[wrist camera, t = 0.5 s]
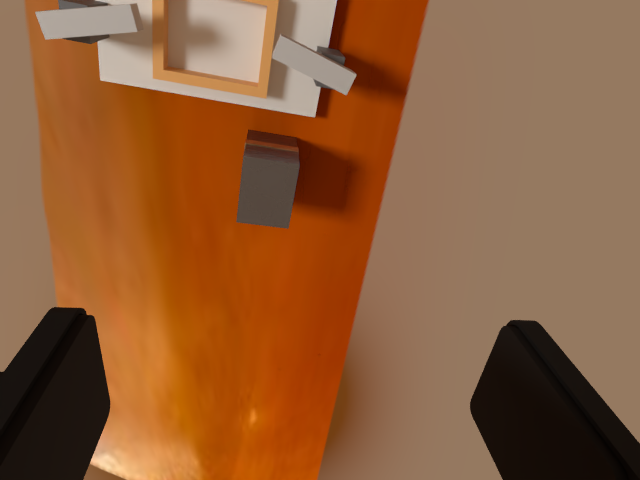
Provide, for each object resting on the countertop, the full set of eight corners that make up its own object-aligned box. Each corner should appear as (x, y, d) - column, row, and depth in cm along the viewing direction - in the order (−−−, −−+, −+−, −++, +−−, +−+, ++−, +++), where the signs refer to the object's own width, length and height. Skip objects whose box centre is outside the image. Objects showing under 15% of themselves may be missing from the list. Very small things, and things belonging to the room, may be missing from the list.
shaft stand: (83, 73, 35) (45, 91, 29) (70, -72, 30) (21, -85, 24) (331, 117, 39) (341, 140, 33) (357, -6, 34) (374, -3, 28)
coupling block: (241, 188, 42) (235, 222, 36) (247, 128, 39) (242, 155, 33) (286, 194, 43) (288, 229, 37) (296, 136, 40) (300, 164, 34)
